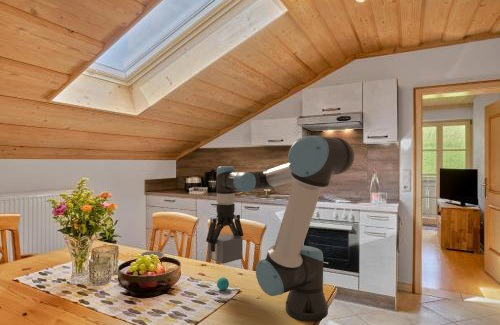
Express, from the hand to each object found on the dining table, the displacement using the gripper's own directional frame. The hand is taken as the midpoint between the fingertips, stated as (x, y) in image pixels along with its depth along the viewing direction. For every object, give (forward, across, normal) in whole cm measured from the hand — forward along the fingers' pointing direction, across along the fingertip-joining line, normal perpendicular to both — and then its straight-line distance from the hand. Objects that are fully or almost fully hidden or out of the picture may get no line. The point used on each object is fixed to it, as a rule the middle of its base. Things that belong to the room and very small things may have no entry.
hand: (225, 256), depth 130 cm
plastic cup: (+15, +18, -31) cm, 39 cm away
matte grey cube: (+1, 0, 0) cm, 1 cm away
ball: (+12, 0, -2) cm, 12 cm away
